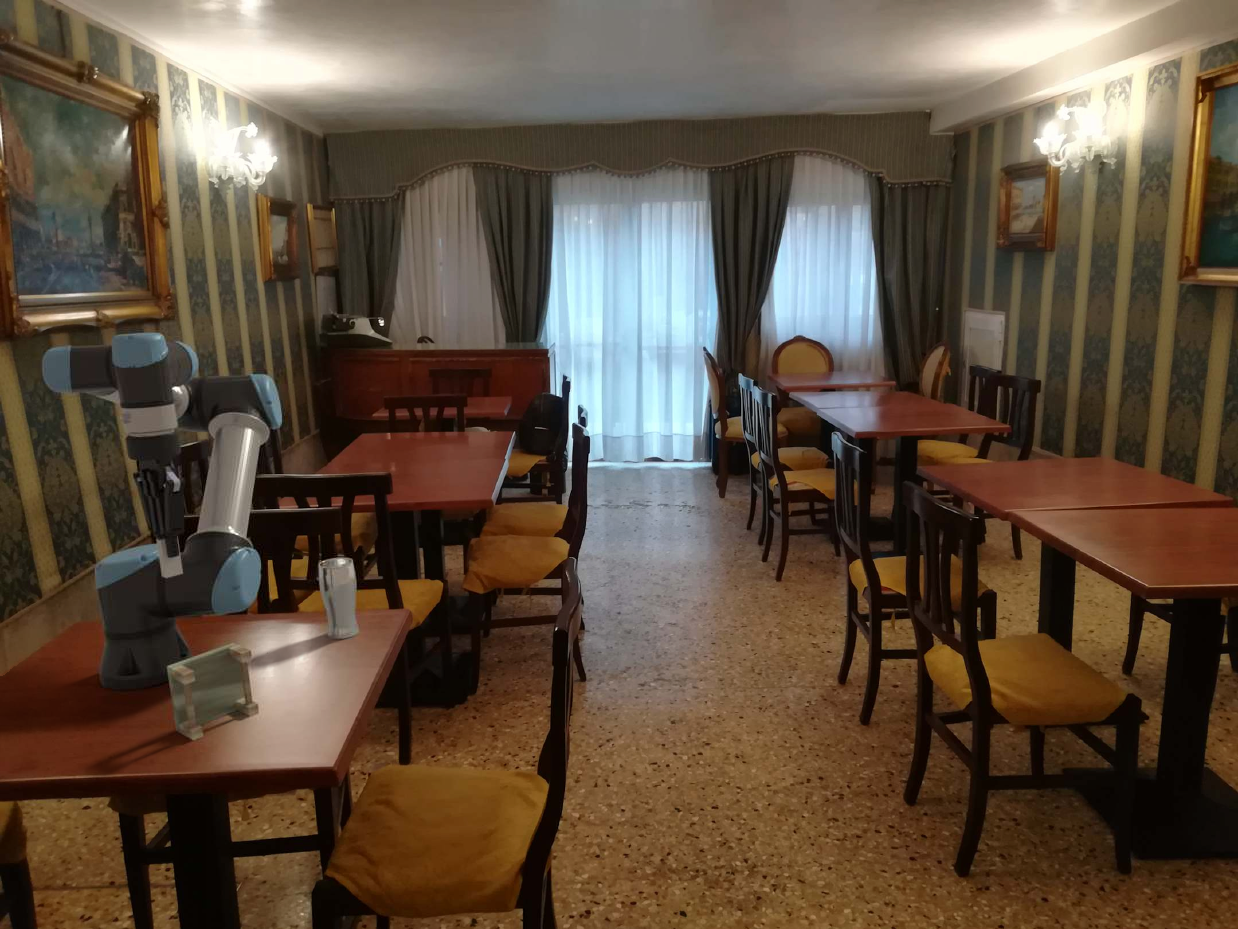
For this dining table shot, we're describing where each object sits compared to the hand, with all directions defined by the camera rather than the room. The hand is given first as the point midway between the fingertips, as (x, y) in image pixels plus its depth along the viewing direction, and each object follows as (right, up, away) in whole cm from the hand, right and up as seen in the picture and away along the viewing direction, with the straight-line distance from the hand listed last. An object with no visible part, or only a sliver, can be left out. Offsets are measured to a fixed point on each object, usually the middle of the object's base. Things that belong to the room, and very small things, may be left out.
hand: (172, 574), depth 145 cm
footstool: (+8, -24, 0) cm, 25 cm away
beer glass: (+17, -16, +34) cm, 42 cm away
